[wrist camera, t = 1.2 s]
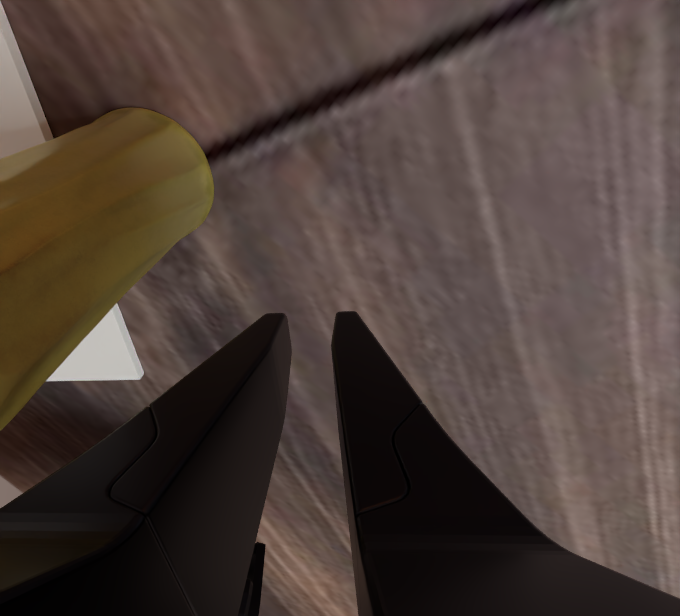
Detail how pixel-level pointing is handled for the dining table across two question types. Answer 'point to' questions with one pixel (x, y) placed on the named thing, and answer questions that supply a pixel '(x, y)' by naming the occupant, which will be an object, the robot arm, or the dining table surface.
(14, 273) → the vase
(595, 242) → the dining table surface
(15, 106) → the mat
